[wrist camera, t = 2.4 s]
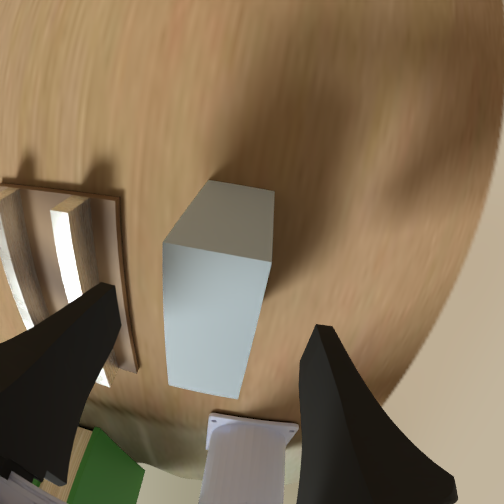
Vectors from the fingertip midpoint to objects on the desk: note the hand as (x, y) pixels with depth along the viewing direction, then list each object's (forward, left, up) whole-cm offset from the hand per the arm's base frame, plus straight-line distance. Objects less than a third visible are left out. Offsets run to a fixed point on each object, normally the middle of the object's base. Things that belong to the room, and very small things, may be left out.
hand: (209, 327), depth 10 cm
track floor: (-5, +11, -5) cm, 13 cm away
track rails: (-5, +11, -5) cm, 13 cm away
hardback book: (-40, +16, -6) cm, 44 cm away
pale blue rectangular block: (0, 0, -5) cm, 5 cm away
